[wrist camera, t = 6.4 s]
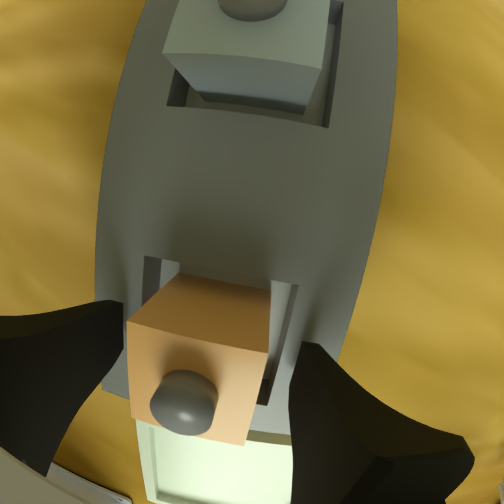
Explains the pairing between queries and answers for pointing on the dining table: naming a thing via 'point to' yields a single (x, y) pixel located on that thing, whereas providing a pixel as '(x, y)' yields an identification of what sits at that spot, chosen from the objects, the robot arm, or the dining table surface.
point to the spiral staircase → (501, 492)
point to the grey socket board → (250, 189)
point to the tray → (215, 468)
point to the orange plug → (199, 357)
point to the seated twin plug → (250, 50)
